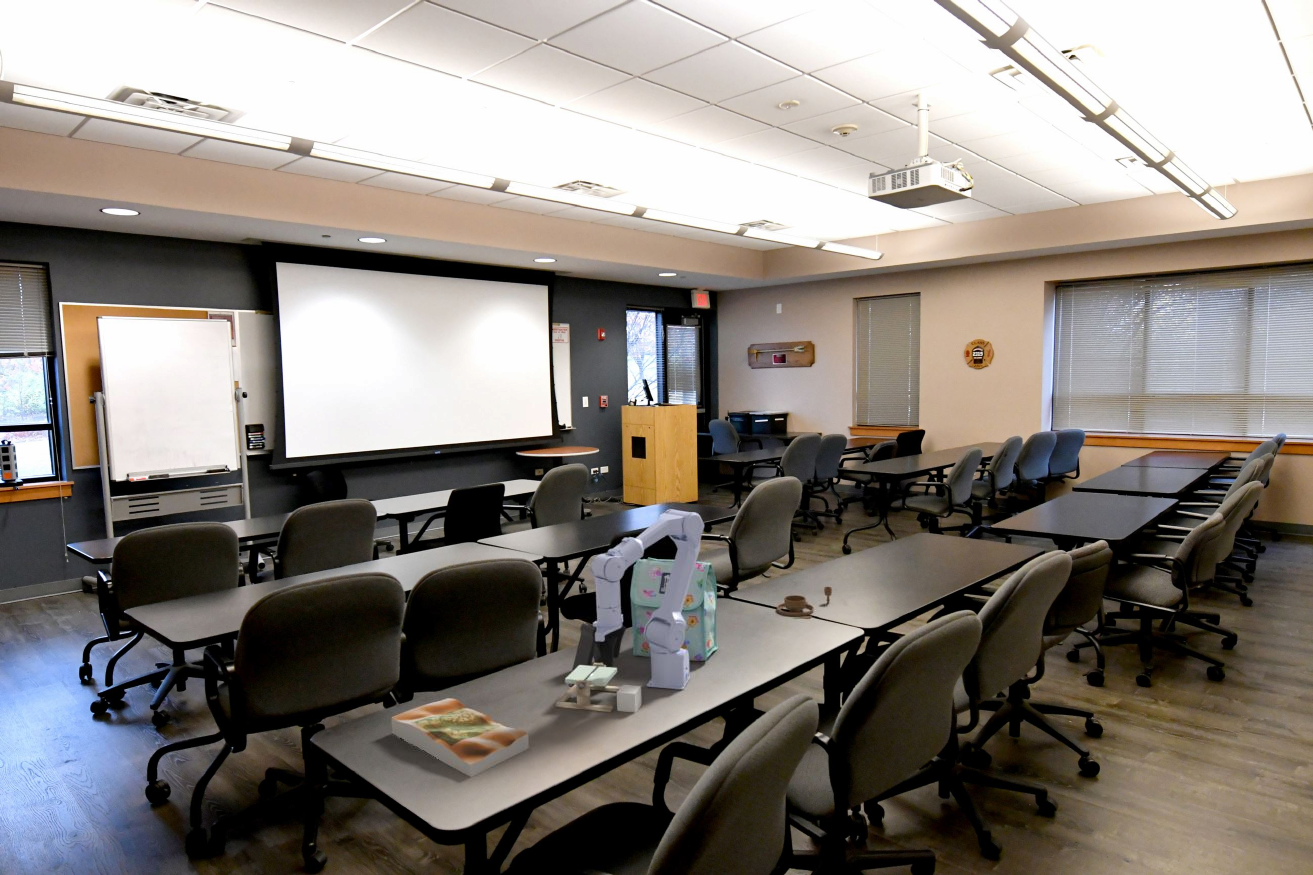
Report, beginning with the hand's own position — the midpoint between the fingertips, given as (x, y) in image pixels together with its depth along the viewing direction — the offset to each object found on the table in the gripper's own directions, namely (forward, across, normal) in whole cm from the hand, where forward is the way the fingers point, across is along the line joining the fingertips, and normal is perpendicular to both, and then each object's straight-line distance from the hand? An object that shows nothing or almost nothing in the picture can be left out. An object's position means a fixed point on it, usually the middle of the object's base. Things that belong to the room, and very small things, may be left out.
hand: (610, 660), depth 178 cm
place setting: (+11, -80, +40) cm, 90 cm away
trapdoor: (+6, -1, -6) cm, 9 cm away
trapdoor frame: (+10, -1, -6) cm, 12 cm away
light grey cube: (+10, +2, +5) cm, 12 cm away
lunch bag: (+10, -35, +7) cm, 37 cm away
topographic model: (+11, +25, -27) cm, 38 cm away
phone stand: (+10, -19, -12) cm, 25 cm away
